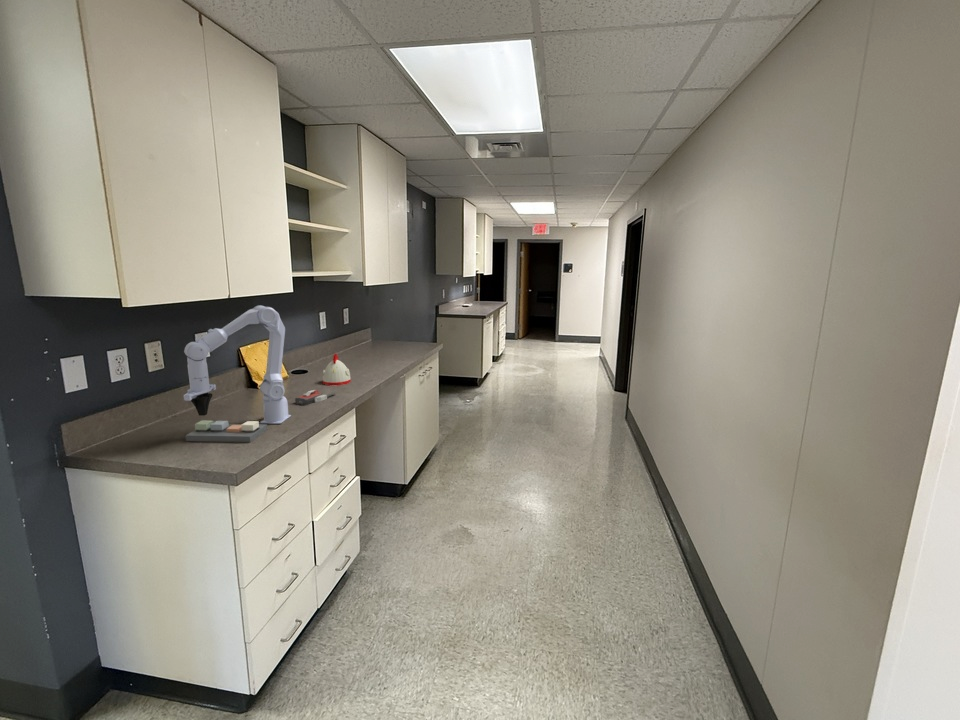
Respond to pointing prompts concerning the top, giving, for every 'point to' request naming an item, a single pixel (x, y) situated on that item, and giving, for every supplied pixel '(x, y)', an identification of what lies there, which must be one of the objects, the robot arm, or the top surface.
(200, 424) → the key sage
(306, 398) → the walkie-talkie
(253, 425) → the key ivory
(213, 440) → the grey slotted tray
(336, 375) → the kitchen timer
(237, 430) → the key terracotta
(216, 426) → the key slate
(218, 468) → the top surface
